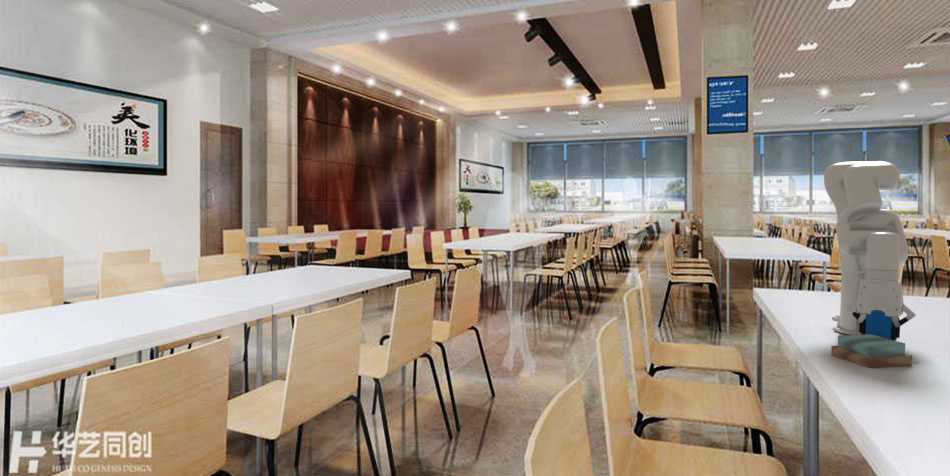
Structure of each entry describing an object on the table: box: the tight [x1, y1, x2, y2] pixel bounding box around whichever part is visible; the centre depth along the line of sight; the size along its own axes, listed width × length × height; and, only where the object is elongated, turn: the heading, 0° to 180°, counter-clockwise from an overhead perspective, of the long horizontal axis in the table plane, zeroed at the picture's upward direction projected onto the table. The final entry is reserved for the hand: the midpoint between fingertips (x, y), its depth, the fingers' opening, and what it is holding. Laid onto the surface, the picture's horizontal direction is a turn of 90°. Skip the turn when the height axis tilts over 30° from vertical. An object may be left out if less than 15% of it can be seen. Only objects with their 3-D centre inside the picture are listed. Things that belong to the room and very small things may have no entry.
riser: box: [830, 334, 913, 369], centre depth 139 cm, size 12×12×6 cm
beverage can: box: [865, 307, 894, 340], centre depth 150 cm, size 6×6×12 cm
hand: (878, 337), depth 151 cm, fingers closed on beverage can, 6 cm apart
